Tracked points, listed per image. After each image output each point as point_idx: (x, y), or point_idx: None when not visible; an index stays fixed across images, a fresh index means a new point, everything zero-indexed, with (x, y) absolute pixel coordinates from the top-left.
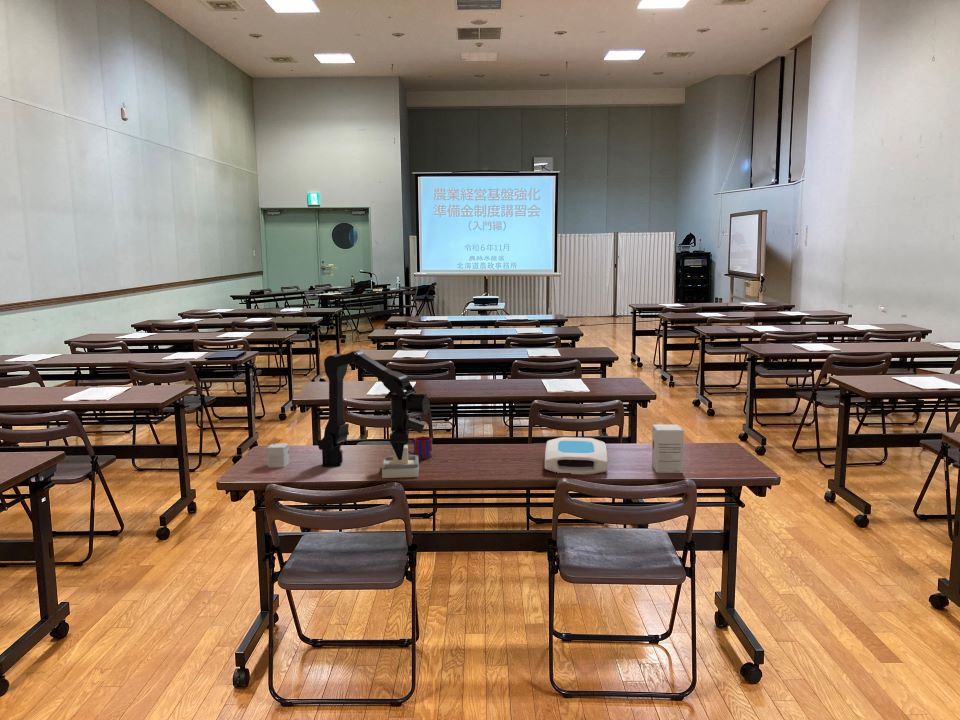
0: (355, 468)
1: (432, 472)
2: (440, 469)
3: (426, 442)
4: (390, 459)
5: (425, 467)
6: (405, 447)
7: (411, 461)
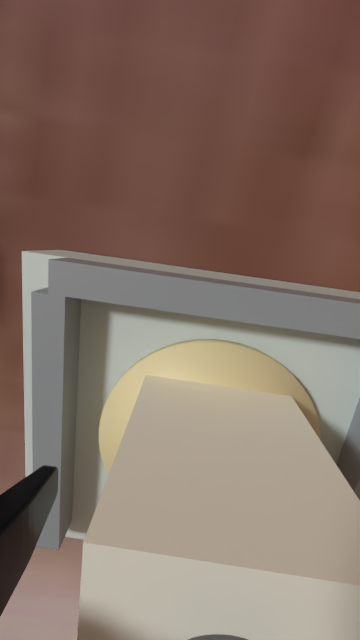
0: (74, 608)
1: (309, 152)
2: (235, 49)
3: None
4: (70, 501)
5: (133, 197)
6: (310, 612)
7: (200, 349)
